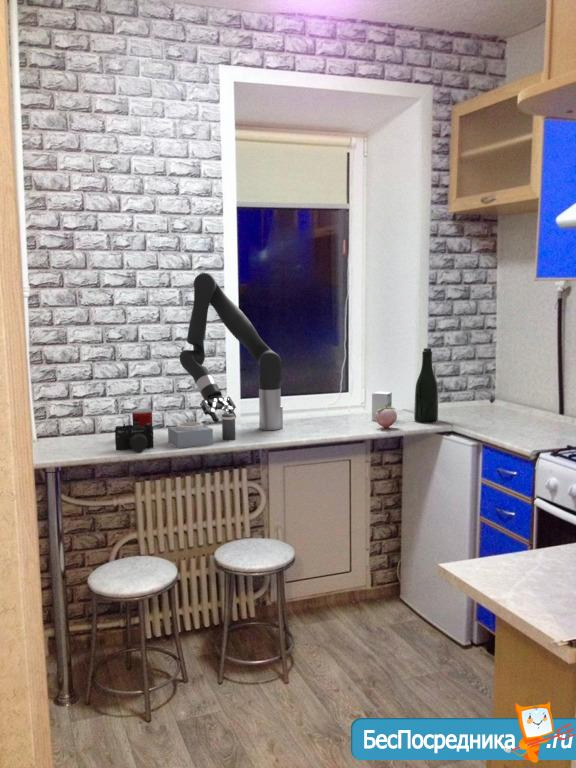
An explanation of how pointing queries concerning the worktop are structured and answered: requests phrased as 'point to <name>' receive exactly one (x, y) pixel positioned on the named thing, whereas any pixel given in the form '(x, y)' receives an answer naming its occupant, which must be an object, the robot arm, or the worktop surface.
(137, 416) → the canned food
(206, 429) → the low grey box
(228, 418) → the lens
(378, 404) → the supplement box
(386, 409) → the decorative fruit
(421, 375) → the dark green wine bottle
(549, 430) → the worktop surface
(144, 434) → the camera
